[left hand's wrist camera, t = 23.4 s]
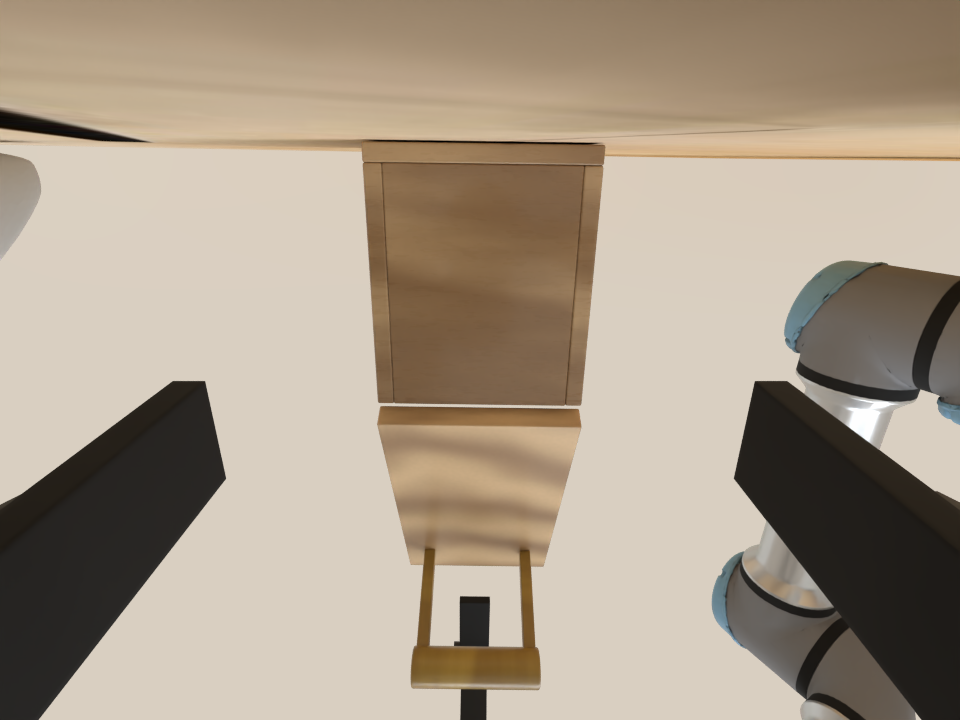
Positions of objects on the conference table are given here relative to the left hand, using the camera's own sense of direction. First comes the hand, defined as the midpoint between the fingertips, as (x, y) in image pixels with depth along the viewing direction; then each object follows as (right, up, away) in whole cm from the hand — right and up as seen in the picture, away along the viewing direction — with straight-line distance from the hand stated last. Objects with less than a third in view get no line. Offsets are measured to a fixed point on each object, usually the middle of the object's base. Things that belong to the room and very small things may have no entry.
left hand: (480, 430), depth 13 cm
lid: (0, -6, +18) cm, 19 cm away
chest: (0, +13, +15) cm, 20 cm away
